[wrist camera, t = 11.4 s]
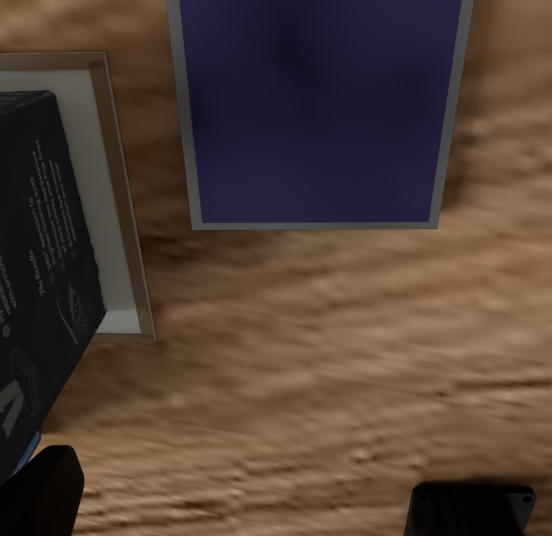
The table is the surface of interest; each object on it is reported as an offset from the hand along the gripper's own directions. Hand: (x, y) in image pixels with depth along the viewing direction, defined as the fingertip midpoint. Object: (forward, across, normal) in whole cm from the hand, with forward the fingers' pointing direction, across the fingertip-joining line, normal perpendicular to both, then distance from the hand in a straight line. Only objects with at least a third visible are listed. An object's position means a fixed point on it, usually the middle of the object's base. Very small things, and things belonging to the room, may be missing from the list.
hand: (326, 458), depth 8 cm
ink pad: (+12, 0, -4) cm, 12 cm away
